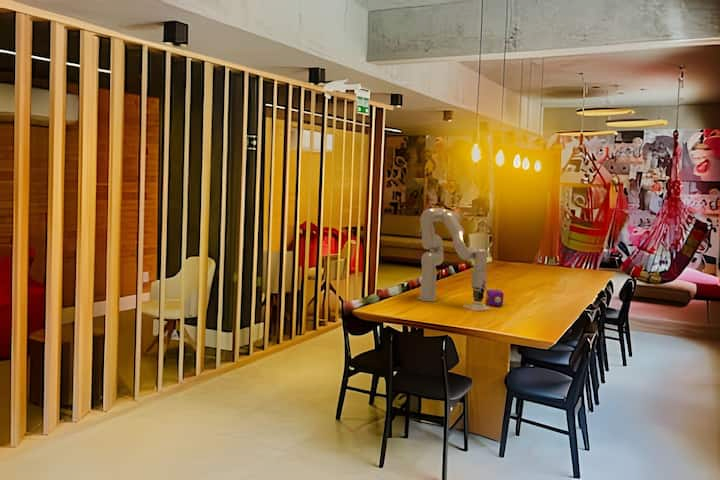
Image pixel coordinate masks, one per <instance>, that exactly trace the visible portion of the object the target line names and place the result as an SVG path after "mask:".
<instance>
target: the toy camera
mask: <svg viewBox="0 0 720 480" xmlns="http://www.w3.org/2000/svg"><path fill="white" fill-rule="evenodd" d="M485 303H486V304H487V306H490V307H491V306H493V307H502V306H503V305H504V292H503V291H502V290H500V289H499V288H496V289H486V290H485Z"/></svg>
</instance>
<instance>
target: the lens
mask: <svg viewBox="0 0 720 480" xmlns="http://www.w3.org/2000/svg"><path fill="white" fill-rule="evenodd" d="M474 290H475V291H474V297H473V301H474V302H476V303H483V299H479V293H480V291H479V288H475V289H474ZM481 290H482V289H481Z"/></svg>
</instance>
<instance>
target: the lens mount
mask: <svg viewBox="0 0 720 480" xmlns="http://www.w3.org/2000/svg"><path fill="white" fill-rule="evenodd" d="M463 308H464V309H465V308H466V309H468V310H471V311H474V312H483V311H491V310H492V308H490V307H487V306H486V304H485V303H483V302H476V301H474V302H469V305H467V304H465V305H463Z"/></svg>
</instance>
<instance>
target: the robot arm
mask: <svg viewBox="0 0 720 480" xmlns="http://www.w3.org/2000/svg"><path fill="white" fill-rule="evenodd" d="M419 219H420V220H419V221H420V227H421V229H420V231H421V242H422V243H421V244H422V247H423V249H424V250H430V251H427V252H424V253H423V254H422V256H421V284H420V291H419V293H418V295H419V296H418V297H417V300H419V301H422V302H437V301H438V298H437V297H436V289H437V288H436V287H437V274H438V273H437V267H436V266H440V265H441V264H442V263H443V262H444V259H445V258H444V257H445V256H444V242H443V239H442V237H441V236H440V235H438V234H436V233H435V225H434V223H433V222H442V223H443V224H444V226H445V228H446V229H447V230H448V232H449V234H450V236H451V238H452V244H453V247H454V250H455V252H456V253H457V255H458V257H459V258H460V259H462V261H463V260H464V261H470V260H471V261H472V260H473V261H474V262H473V270H472V273H471V281H470V286H471V287H472V291H473V292H472V293H473V294H472V298H474V291H475V290H474V289H475V288H479V291H480V293H479V299H482V300H484V296H485V295H484V293H485V292H486V291H487V290H488V289H487V288H488V287H487V280H488V279H487V262H488V250H487V249H485V248H476V247H468V246H467V245H466V243H465V241H464V235H465V229H464V228H463V227H462V225H461V221H462V216H461V215H460V213H459V212H456V211H453V210H450V209H445V208H443V207H441V208H440V207H431V208H426V209H425V210H424V211H423V212H422V214H421V216H420V218H419ZM481 289H482V290H481Z"/></svg>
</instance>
